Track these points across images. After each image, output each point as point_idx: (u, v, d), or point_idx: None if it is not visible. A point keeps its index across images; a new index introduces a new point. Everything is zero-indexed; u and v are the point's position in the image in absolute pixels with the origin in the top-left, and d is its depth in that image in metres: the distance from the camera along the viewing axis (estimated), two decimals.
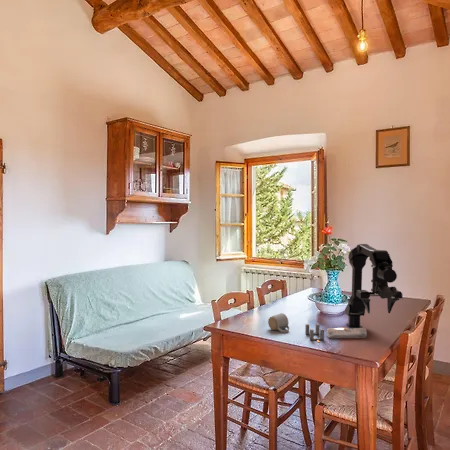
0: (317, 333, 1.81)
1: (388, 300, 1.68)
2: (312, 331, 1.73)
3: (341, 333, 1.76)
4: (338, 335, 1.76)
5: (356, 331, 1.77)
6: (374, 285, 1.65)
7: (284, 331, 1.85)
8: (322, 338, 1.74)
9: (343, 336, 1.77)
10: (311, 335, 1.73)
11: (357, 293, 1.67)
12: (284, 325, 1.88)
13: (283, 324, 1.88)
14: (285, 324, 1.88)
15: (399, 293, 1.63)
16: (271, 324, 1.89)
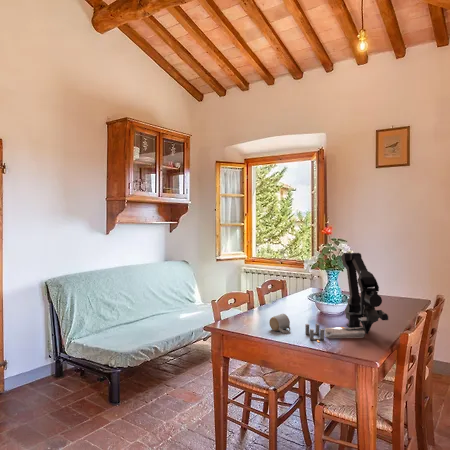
0: (317, 333, 1.81)
1: None
2: (312, 331, 1.73)
3: (339, 333, 1.76)
4: (336, 335, 1.76)
5: (354, 331, 1.77)
6: (362, 308, 1.77)
7: (285, 332, 1.84)
8: (322, 338, 1.74)
9: (341, 336, 1.77)
10: (311, 335, 1.73)
11: (346, 315, 1.79)
12: (285, 326, 1.87)
13: (284, 325, 1.87)
14: (286, 325, 1.88)
15: (385, 315, 1.76)
16: (273, 324, 1.88)
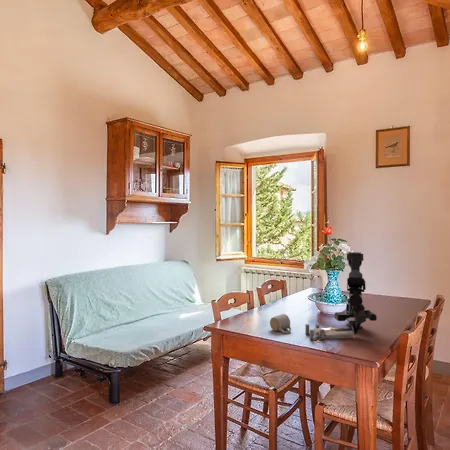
0: None
1: None
2: (312, 331, 1.73)
3: (328, 333, 1.76)
4: (324, 335, 1.76)
5: (342, 331, 1.77)
6: (350, 308, 1.77)
7: (286, 332, 1.83)
8: (322, 338, 1.74)
9: (329, 336, 1.76)
10: (311, 335, 1.73)
11: (335, 315, 1.79)
12: (286, 326, 1.87)
13: (285, 325, 1.86)
14: (287, 325, 1.87)
15: (373, 316, 1.76)
16: (273, 325, 1.87)
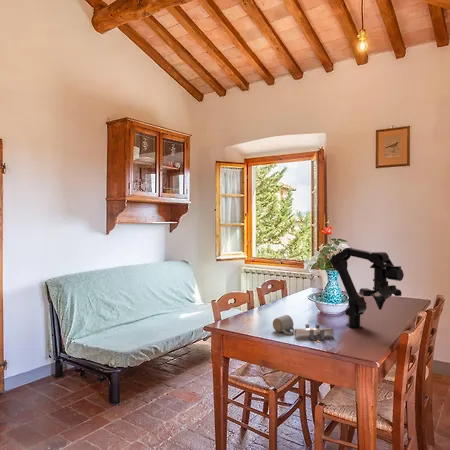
0: None
1: None
2: (312, 331, 1.73)
3: (309, 334, 1.76)
4: (305, 336, 1.76)
5: None
6: (376, 284, 1.81)
7: (289, 333, 1.81)
8: (322, 338, 1.74)
9: None
10: (311, 335, 1.73)
11: (360, 291, 1.83)
12: (289, 327, 1.85)
13: (288, 326, 1.85)
14: (290, 326, 1.85)
15: (398, 291, 1.80)
16: (276, 326, 1.85)
